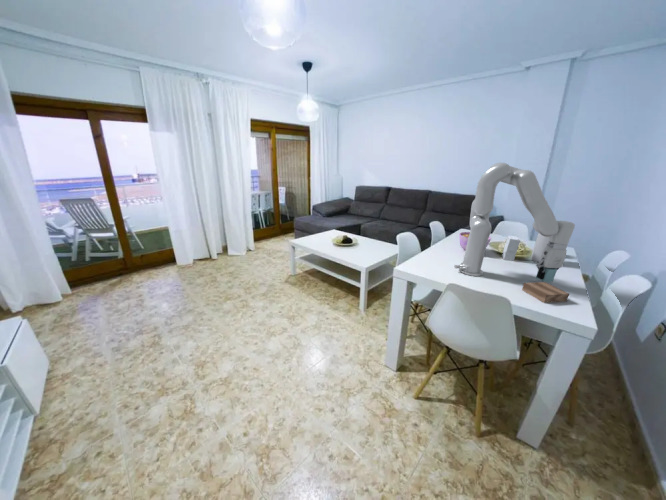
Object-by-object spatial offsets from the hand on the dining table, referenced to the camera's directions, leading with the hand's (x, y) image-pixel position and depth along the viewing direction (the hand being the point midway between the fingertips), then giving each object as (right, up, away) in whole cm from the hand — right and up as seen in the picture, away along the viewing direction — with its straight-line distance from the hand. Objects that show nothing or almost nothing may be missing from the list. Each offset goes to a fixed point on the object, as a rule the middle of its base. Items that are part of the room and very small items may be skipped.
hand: (544, 277), depth 132 cm
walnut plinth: (-10, -7, -11) cm, 16 cm away
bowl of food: (-12, +14, +49) cm, 52 cm away
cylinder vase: (+26, +7, +33) cm, 43 cm away
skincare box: (+6, +9, +36) cm, 37 cm away
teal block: (0, -1, 0) cm, 1 cm away
